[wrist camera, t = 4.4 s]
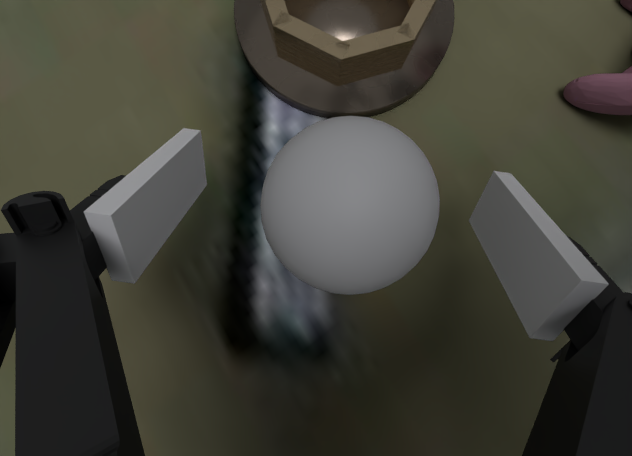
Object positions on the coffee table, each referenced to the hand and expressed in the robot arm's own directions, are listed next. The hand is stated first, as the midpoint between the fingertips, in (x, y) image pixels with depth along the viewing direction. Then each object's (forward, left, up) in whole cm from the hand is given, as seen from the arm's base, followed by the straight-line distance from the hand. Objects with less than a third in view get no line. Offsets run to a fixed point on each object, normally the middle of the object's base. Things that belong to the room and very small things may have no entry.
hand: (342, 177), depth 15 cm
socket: (+5, -11, -5) cm, 13 cm away
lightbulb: (-1, +2, -5) cm, 5 cm away
